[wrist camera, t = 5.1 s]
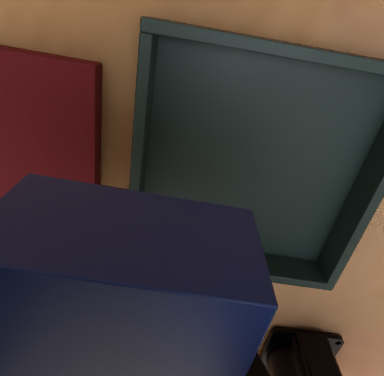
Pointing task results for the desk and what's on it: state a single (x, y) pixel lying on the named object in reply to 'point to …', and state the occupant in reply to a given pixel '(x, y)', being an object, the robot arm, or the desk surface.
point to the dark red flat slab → (49, 117)
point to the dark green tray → (263, 139)
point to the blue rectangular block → (128, 283)
